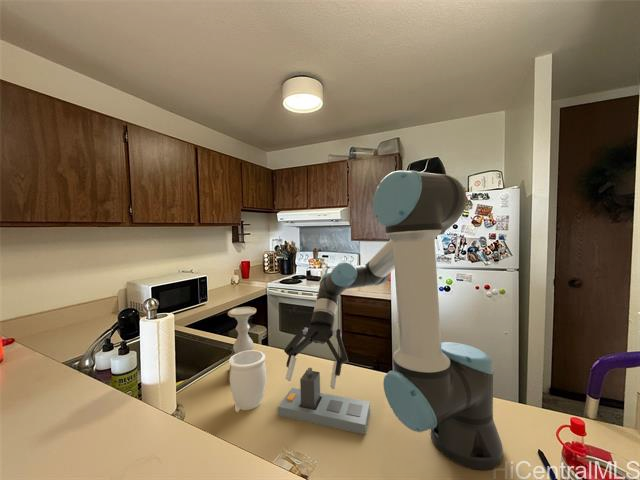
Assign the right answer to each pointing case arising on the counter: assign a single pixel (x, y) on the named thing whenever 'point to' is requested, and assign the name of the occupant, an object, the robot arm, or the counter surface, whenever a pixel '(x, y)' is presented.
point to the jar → (247, 379)
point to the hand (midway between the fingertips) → (309, 383)
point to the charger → (310, 389)
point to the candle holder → (242, 330)
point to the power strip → (328, 411)
